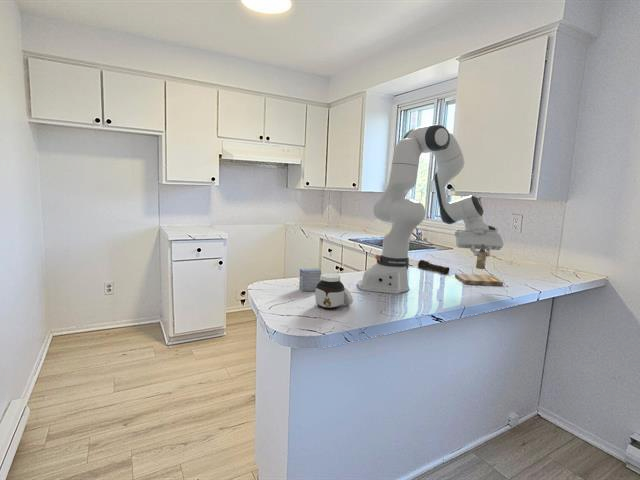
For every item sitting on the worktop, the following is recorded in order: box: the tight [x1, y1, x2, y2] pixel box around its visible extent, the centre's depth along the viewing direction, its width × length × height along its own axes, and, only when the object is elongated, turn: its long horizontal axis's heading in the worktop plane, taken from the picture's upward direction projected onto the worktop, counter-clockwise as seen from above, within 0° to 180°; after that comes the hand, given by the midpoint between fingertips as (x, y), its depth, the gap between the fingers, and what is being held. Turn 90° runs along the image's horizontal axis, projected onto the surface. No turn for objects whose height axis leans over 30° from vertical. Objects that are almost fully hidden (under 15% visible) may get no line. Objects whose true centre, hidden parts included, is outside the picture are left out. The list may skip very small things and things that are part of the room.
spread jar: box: [314, 272, 354, 311], centre depth 131 cm, size 12×11×12 cm
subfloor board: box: [454, 273, 504, 287], centre depth 177 cm, size 18×13×2 cm
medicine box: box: [298, 267, 322, 292], centre depth 150 cm, size 8×4×9 cm, turn 111°
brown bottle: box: [475, 244, 487, 270], centre depth 162 cm, size 4×4×11 cm
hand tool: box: [417, 259, 450, 275], centre depth 196 cm, size 19×4×5 cm, turn 34°
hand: (482, 255), depth 161 cm, fingers closed on brown bottle, 4 cm apart
